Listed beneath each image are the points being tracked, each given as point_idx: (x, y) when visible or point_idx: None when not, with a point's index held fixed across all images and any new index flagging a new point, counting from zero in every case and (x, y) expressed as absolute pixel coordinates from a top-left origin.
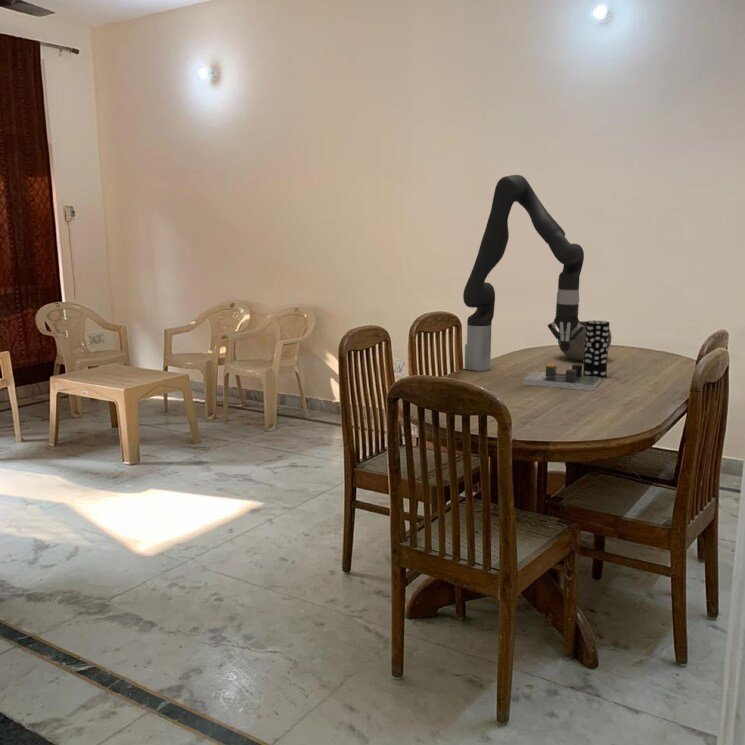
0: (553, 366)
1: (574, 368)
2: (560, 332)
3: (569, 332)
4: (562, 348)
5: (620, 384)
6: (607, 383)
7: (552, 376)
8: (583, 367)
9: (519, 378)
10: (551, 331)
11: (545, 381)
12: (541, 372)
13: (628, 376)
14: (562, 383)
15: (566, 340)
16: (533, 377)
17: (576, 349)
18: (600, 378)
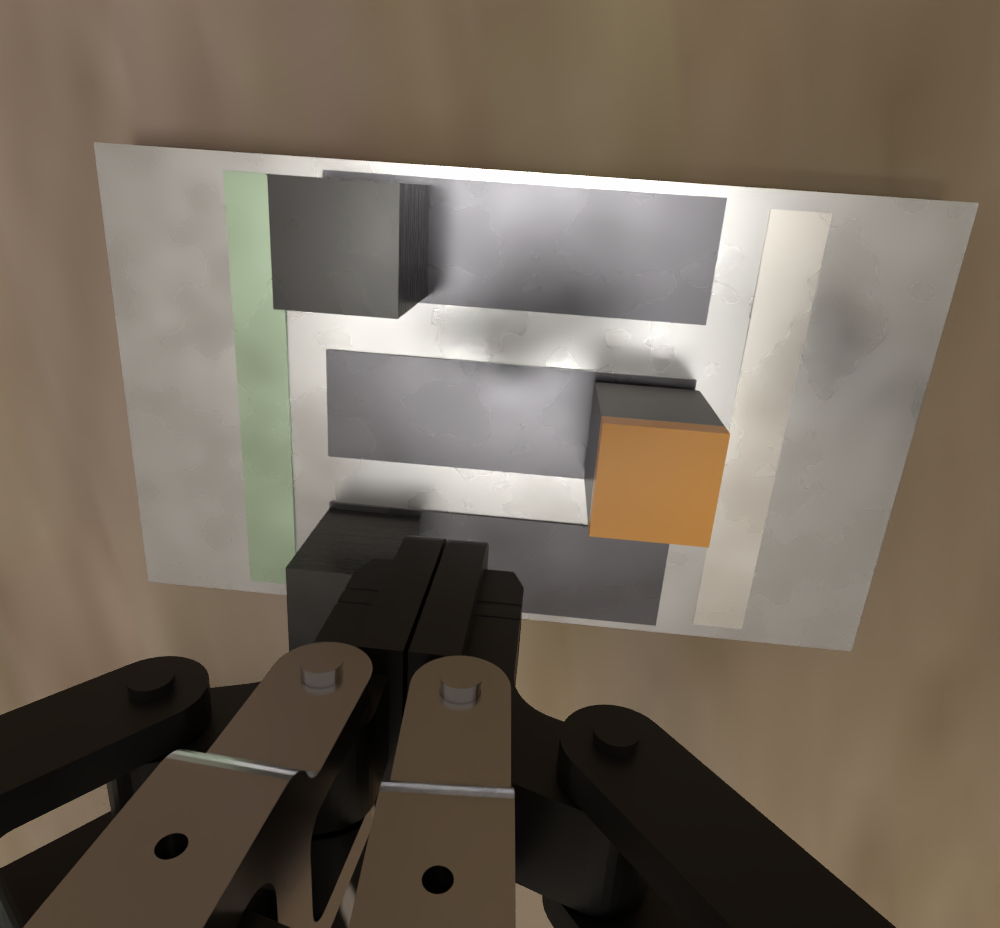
0: (617, 422)
1: (370, 556)
2: (500, 831)
3: (128, 807)
4: (475, 563)
5: (3, 544)
6: (113, 548)
7: (615, 384)
8: (366, 841)
9: (984, 498)
10: (886, 925)
11: (678, 182)
12: (762, 621)
13: (50, 835)
14: (463, 168)
15: (346, 657)
16: (845, 329)
17: None
18: (154, 572)
